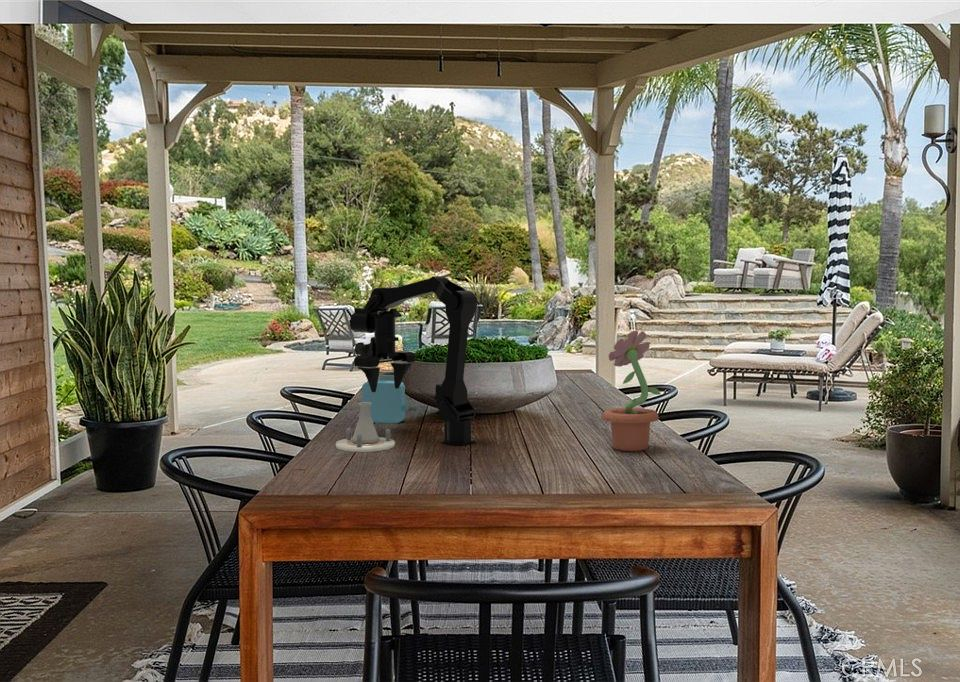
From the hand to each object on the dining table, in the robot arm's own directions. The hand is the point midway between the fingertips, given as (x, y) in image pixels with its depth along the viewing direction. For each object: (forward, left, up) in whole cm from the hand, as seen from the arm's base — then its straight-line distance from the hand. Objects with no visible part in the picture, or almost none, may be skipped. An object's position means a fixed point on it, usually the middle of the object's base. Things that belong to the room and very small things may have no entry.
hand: (385, 390), depth 250 cm
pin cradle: (-8, +16, -12) cm, 22 cm away
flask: (-8, +16, -11) cm, 21 cm away
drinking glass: (+26, -32, -12) cm, 43 cm away
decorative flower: (-64, -22, -12) cm, 69 cm away
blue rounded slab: (+14, -14, -12) cm, 23 cm away
